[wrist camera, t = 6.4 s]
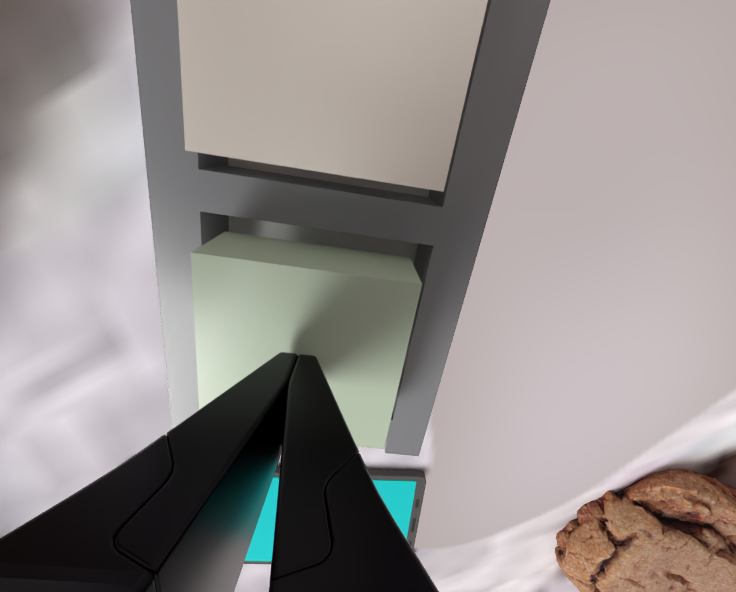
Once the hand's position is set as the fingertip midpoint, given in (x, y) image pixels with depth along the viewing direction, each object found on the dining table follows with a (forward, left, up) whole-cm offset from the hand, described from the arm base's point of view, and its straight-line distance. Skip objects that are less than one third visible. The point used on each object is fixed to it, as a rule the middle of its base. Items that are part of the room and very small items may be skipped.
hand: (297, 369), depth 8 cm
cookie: (+20, -12, -6) cm, 24 cm away
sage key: (0, 0, -2) cm, 2 cm away
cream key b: (0, +7, -2) cm, 7 cm away
